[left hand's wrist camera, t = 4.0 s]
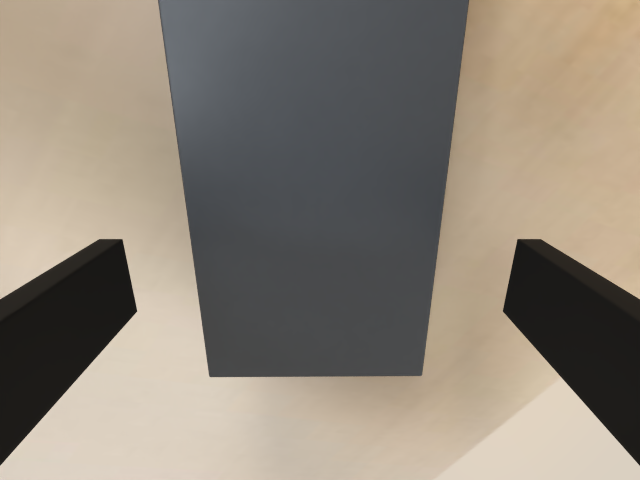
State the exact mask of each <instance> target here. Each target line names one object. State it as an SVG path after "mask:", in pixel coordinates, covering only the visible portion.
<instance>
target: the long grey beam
mask: <svg viewBox="0 0 640 480" xmlns="http://www.w3.org/2000/svg"><path fill="white" fill-rule="evenodd" d="M158 3H159V10H160V18H161V25H162V32H163V40H164V47H165V54H166V62H167V69H168V76H169V84H170V91H171V98H172V106H173V113H174V120H175V128H176V135H177V142H178V150H179V157H180V165H181V172H182V179H183V187H184V194H185V201H186V209H187V216H188V223H189V231H190V238H191V245H192V253H193V260H194V267H195V275H196V282H197V289H198V297H199V304H200V311H201V319H202V326H203V333H204V341H205V348H206V355H207V363H208V370H209V376H210V377H310V376H422V371H423V363H424V355H425V347H426V339H427V331H428V323H429V315H430V307H431V299H432V291H433V283H434V275H435V267H436V259H437V251H438V243H439V235H440V227H441V219H442V211H443V203H444V195H445V188H446V180H447V172H448V164H449V156H450V148H451V140H452V132H453V124H454V116H455V108H456V100H457V92H458V84H459V76H460V68H461V60H462V52H463V44H464V36H465V28H466V20H467V12H468V4H469V0H158Z"/></svg>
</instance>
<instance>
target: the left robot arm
mask: <svg viewBox="0 0 640 480" xmlns="http://www.w3.org/2000/svg"><path fill="white" fill-rule="evenodd" d="M136 312H137V308H136V303H135V298H134V294H133V289H132V284H131V279H130V274H129V269H128V264H127V259H126V255H125V250H124V245H123V240H122V239H99V240H97V241H96V242H94V243H92V244H91V245H89V246H87V247H86V248H84V249H82V250H81V251H79V252H78V253H76V254H74V255H73V256H71V257H69V258H68V259H66V260H64V261H63V262H61V263H59V264H58V265H56V266H54V267H53V268H51V269H50V270H48V271H46V272H45V273H43V274H41V275H40V276H38V277H36V278H35V279H33V280H31V281H30V282H28V283H26V284H25V285H23V286H22V287H20V288H18V289H17V290H15V291H13V292H12V293H10V294H8V295H7V296H5V297H3V298H2V299H0V465H1V464H2V463H3V462H4V461H5V460H6V458H7V457H8V456H9V455H10V454H11V453H12V452H13V451H14V449H15V448H16V447H17V446H18V445H19V444H20V443H21V442H22V440H23V439H24V438H25V437H26V436H27V435H28V434H29V433H30V431H31V430H32V429H33V428H34V427H35V426H36V425H37V424H38V422H39V421H40V420H41V419H42V418H43V417H44V416H45V415H46V413H47V412H48V411H49V410H50V409H51V408H52V407H53V405H54V404H55V403H56V402H57V401H58V400H59V399H60V398H61V396H62V395H63V394H64V393H65V392H66V391H67V390H68V389H69V387H70V386H71V385H72V384H73V383H74V382H75V381H76V380H77V378H78V377H79V376H80V375H81V374H82V373H83V372H84V371H85V369H86V368H87V367H88V366H89V365H90V364H91V363H92V362H93V360H94V359H95V358H96V357H97V356H98V355H99V354H100V353H101V351H102V350H103V349H104V348H105V347H106V346H107V345H108V344H109V342H110V341H111V340H112V339H113V338H114V337H115V336H116V335H117V333H118V332H119V331H120V330H121V329H122V328H123V327H124V326H125V324H126V323H127V322H128V321H129V320H130V319H131V318H132V317H133V315H134V314H135V313H136ZM503 312H504V313H505V314H506V315H507V317H508V318H509V319H510V320H511V321H512V322H513V323H514V324H515V326H516V327H517V328H518V329H519V330H520V331H521V332H522V333H523V335H524V336H525V337H526V338H527V339H528V340H529V341H530V342H531V344H532V345H533V346H534V347H535V348H536V349H537V350H538V351H539V353H540V354H541V355H542V356H543V357H544V358H545V359H546V360H547V362H548V363H549V364H550V365H551V366H552V367H553V368H554V369H555V371H556V372H557V373H558V374H559V375H560V376H561V377H562V378H563V380H564V381H565V382H566V383H567V384H568V385H569V386H570V387H571V389H572V390H573V391H574V392H575V393H576V394H577V395H578V396H579V398H580V399H581V400H582V401H583V402H584V403H585V404H586V405H587V407H588V408H589V409H590V410H591V411H592V412H593V413H594V415H595V416H596V417H597V418H598V419H599V420H600V421H601V422H602V423H603V425H604V426H605V427H606V428H607V429H608V430H609V431H610V433H611V434H612V435H613V436H614V437H615V438H616V439H617V440H618V442H619V443H620V444H621V445H622V446H623V447H624V448H625V449H626V451H627V452H628V453H629V454H630V455H631V456H632V457H633V458H634V460H635V461H636V462H637V463H638V464H639V465H640V299H638V298H637V297H635V296H633V295H632V294H630V293H628V292H627V291H625V290H623V289H622V288H620V287H618V286H617V285H615V284H614V283H612V282H610V281H609V280H607V279H605V278H604V277H602V276H600V275H599V274H597V273H595V272H594V271H592V270H590V269H589V268H587V267H586V266H584V265H582V264H581V263H579V262H577V261H576V260H574V259H572V258H571V257H569V256H567V255H566V254H564V253H562V252H561V251H559V250H558V249H556V248H554V247H553V246H551V245H549V244H548V243H546V242H544V241H543V240H541V239H518V240H517V245H516V250H515V255H514V259H513V264H512V269H511V274H510V279H509V284H508V289H507V294H506V298H505V303H504V308H503Z"/></svg>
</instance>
